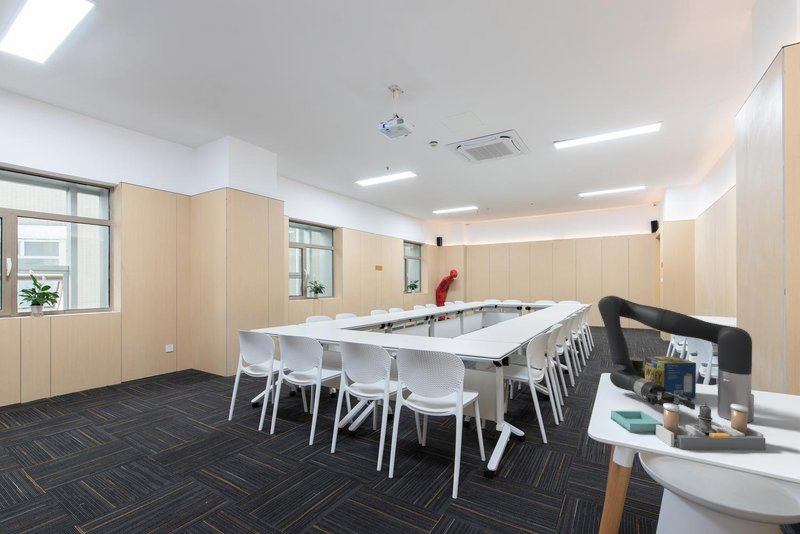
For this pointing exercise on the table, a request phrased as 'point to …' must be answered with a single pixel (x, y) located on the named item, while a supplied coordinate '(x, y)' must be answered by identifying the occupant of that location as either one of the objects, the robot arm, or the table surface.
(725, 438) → the fuse rail
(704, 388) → the table surface
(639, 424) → the tray
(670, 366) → the protein box
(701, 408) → the salt shaker
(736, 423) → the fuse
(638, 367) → the ink bottle
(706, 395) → the table surface
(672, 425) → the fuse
